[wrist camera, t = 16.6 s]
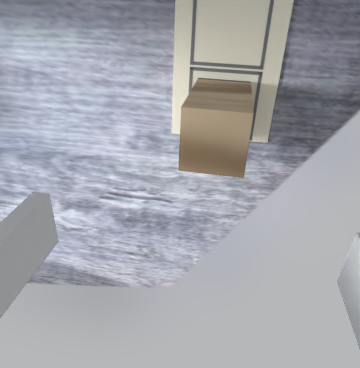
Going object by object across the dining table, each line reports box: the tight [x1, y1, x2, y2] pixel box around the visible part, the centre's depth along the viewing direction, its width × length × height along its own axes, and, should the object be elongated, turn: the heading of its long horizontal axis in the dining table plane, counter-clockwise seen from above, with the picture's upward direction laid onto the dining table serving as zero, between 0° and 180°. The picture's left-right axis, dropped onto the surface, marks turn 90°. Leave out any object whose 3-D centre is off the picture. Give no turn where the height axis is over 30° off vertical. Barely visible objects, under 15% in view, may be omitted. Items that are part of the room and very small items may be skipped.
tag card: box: [172, 0, 294, 143], centre depth 31 cm, size 10×14×1 cm
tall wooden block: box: [179, 78, 254, 178], centre depth 28 cm, size 5×5×10 cm
